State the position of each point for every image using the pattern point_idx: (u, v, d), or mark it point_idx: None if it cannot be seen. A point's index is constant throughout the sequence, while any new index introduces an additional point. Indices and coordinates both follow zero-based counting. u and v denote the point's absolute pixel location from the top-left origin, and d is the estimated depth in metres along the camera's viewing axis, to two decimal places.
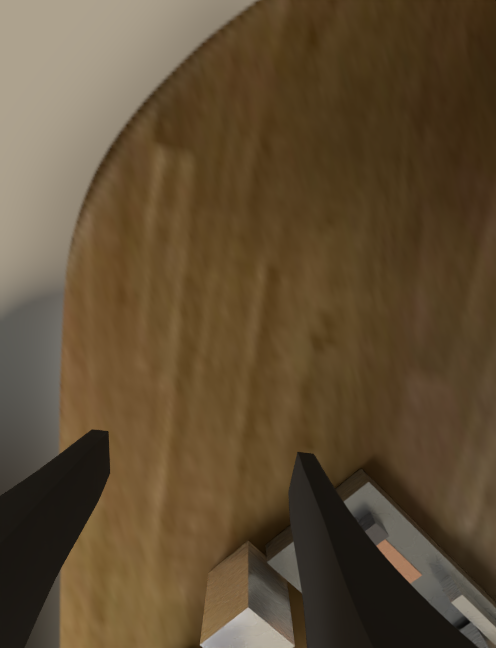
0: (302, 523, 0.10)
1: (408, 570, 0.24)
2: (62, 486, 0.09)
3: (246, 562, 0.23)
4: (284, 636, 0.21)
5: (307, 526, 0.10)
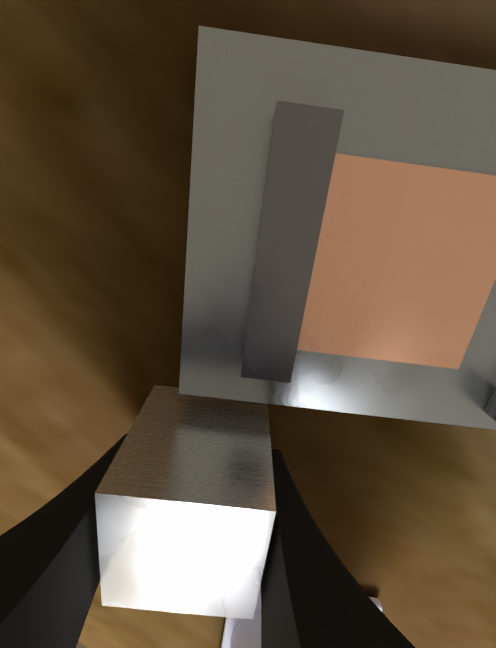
0: None
1: (488, 195, 0.08)
2: None
3: (138, 417, 0.11)
4: (234, 505, 0.08)
5: None
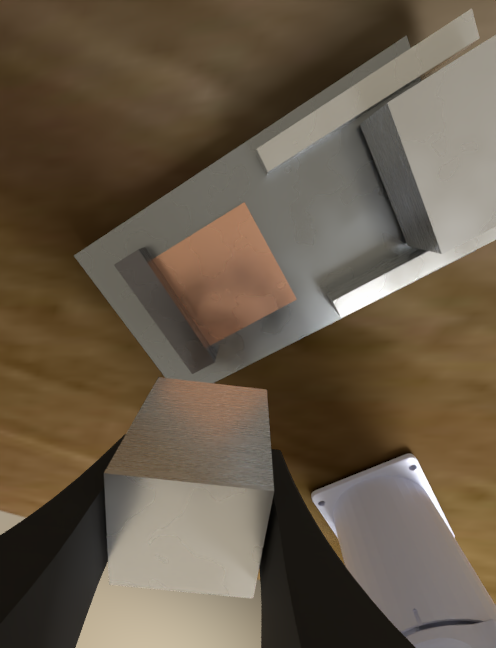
0: None
1: (230, 222, 0.15)
2: None
3: (143, 406, 0.11)
4: (234, 485, 0.08)
5: None
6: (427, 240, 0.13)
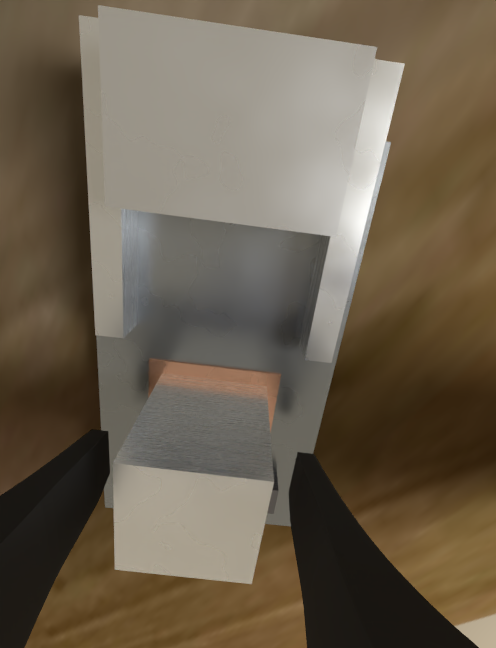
0: (302, 523, 0.10)
1: None
2: (62, 486, 0.09)
3: (148, 401, 0.12)
4: (236, 475, 0.09)
5: (307, 526, 0.10)
6: None
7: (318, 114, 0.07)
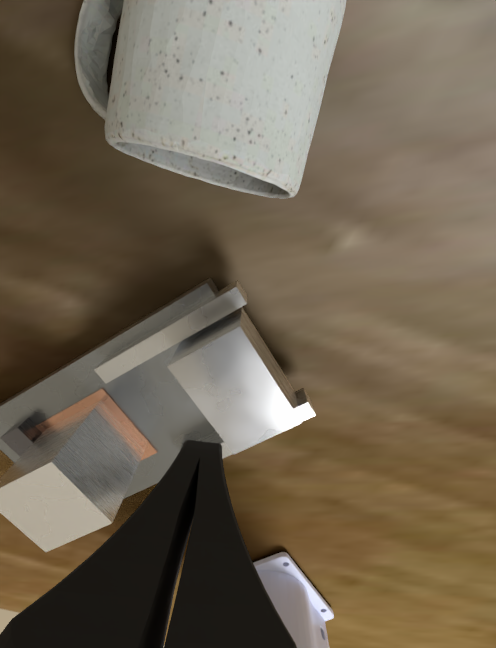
0: None
1: (93, 402, 0.19)
2: (185, 499, 0.09)
3: (83, 420, 0.17)
4: (99, 508, 0.15)
5: None
6: None
7: (268, 420, 0.16)
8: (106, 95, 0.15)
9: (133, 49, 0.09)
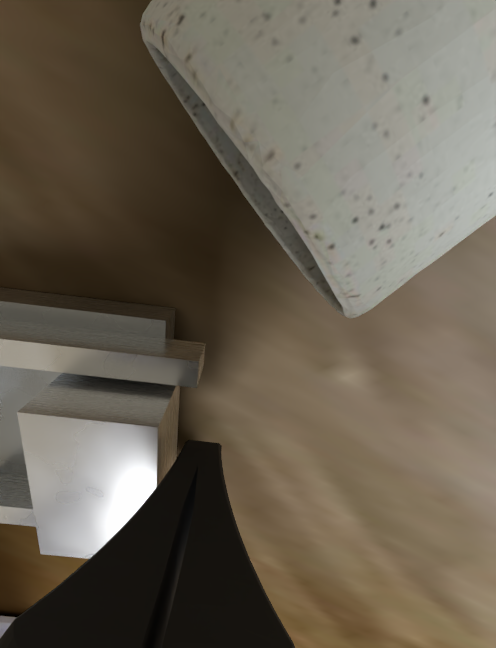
0: None
1: None
2: (187, 499, 0.09)
3: None
4: None
5: None
6: None
7: None
8: None
9: None
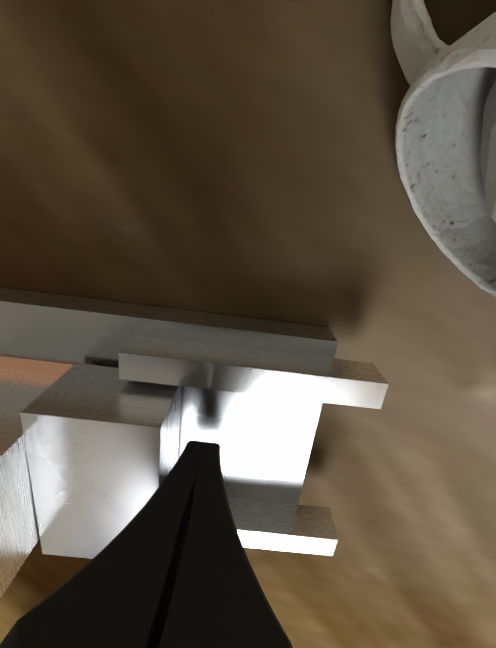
0: None
1: None
2: (189, 499, 0.09)
3: None
4: None
5: None
6: None
7: None
8: None
9: None
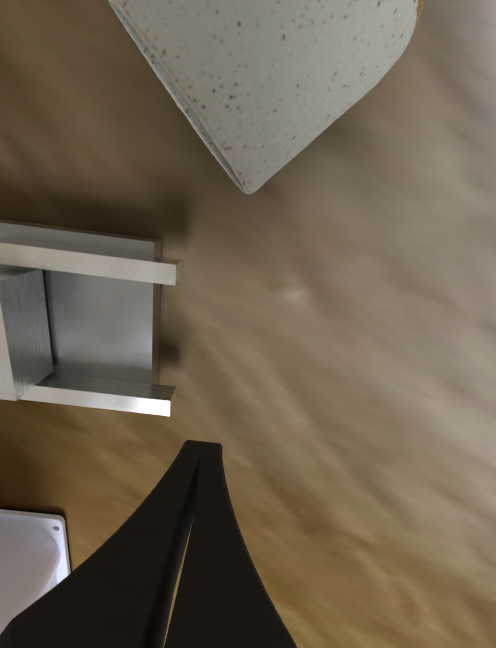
0: None
1: None
2: (185, 499, 0.09)
3: None
4: None
5: None
6: None
7: None
8: None
9: None
